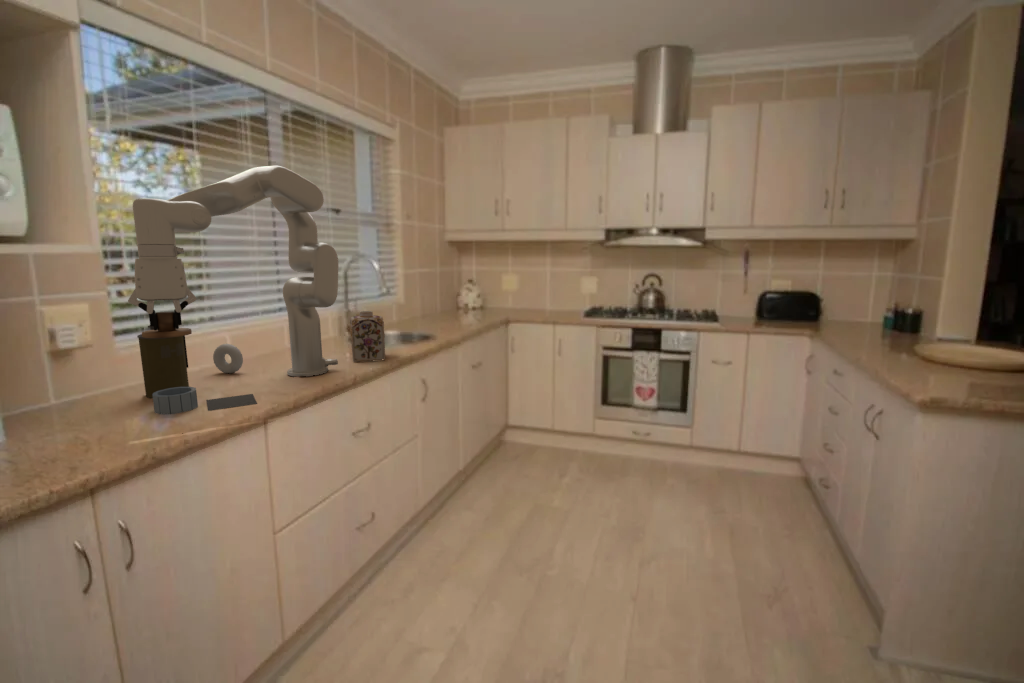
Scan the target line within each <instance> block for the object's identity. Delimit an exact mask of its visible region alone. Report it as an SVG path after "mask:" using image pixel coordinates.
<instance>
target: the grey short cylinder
mask: <svg viewBox="0 0 1024 683" xmlns="http://www.w3.org/2000/svg"><path fill="white" fill-rule="evenodd" d="M152 396H153V398H152V402H153V409H154V410H153V411H154V413H155V414H158V415H175V414H181V413H186V412H190V411H193V410H195V409H197V408H198V407H199V404H198V403H199V402H198V394H197V387H193V386H189V387H175V388H168V389H163V390H159V391H157V392H154V393H153V395H152Z"/></svg>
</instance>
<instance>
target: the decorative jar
mask: <svg viewBox="0 0 1024 683" xmlns="http://www.w3.org/2000/svg"><path fill="white" fill-rule="evenodd" d="M349 320H350V322H349V323H350V337H351V342H350V343H351V354H352V361H353V363H361V362H360V361H368V362H374V361H373V360H382V359H386V346H385V344H386V342H385V336H386V335H385V324H384V318H383V316H381V315H378V314H377V315H376V314H375V315H374V313H373V311H372V310H371V311H370V310H362V311H359V315H353V316H351V317H350V318H349Z"/></svg>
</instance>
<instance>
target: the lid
mask: <svg viewBox="0 0 1024 683" xmlns="http://www.w3.org/2000/svg"><path fill="white" fill-rule="evenodd" d="M155 313H156V317H157V326H158V330H151V329H147V330H145V331H141V334H142V337H143V338H169V337H179V336H185V337H186V336H189V335H191V334H192V328H188V327H179V329H175V323H174V314H173V313H174V311H161V312H160V311H159V312H155Z"/></svg>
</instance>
